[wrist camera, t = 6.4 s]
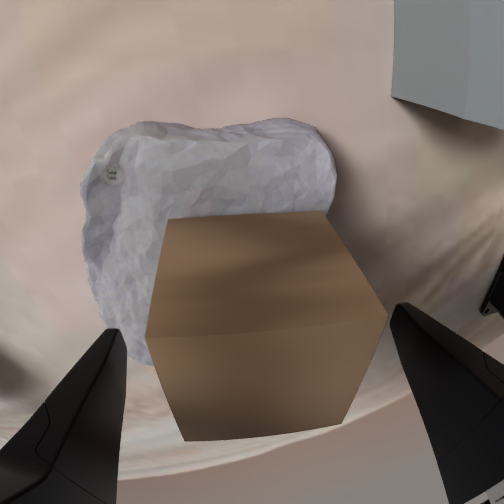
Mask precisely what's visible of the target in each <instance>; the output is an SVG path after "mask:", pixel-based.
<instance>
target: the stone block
mask: <svg viewBox="0 0 504 504" xmlns="http://www.w3.org/2000/svg"><path fill="white" fill-rule="evenodd" d="M336 182H337V173H336V167H335V162H334V158H333V156H332V153H331V151H330V150H329V148H328V147H327V145H326V144H325V142H324V141H323V139H322V137H321V135H320V134H319V132H318V130H317V128H316V127H314V126H311V125H308V124H305V123H302V122H298V121H295V120H292V119H290V118H276V119H267V120H264V121H257V122H254V123H252V124H238V125H231V126H225V127H223V128H222V129H194V128H191V127H189V126H186V125H183V124H178V123H158V122H152V121H143V122H138V123H136V124H134V125H131V126H130V127H128V128H125V129H122V130H119V131H117V132H115V133H114V134H112V135H111V136H110V137H108V138H107V139H106V140H105V141H104V143H103V144H102V146H101V147H100V149H99V150H98V152H97V153H96V156H95V157H94V158H93V159H92V161H91V163H90V165H89V168H88V170H87V172H86V173H85V174H84V176H83V178H82V181H81V189H80V193H81V196H82V199H83V203H84V206H85V209H86V221H85V223H84V226H83V229H82V242H83V245H82V250H83V255H84V260H85V262H86V267H87V277H88V282H89V284H90V287H91V291H92V294H93V296H94V298H95V300H96V301H97V303H98V304H99V305H100V316H101V317H102V319H103V321H104V323H105V326H106V328H107V329H108V328H118V329H120V331H121V333H122V336H123V338H124V341H125V343H126V346H127V356H128V357H130V358H132V359H134V360H136V361H138V362H140V363H142V364H145V365H151V366H154V364H153V361H152V358H151V355H150V353H149V350H148V347H147V344H146V341H145V333H146V327H147V321H148V315H149V309H150V303H151V298H152V293H153V287H154V282H155V277H156V272H157V267H158V262H159V257H160V253H161V248H162V243H163V239H164V234H165V230H166V226H167V221H168V219H176V218H191V217H206V216H223V215H241V214H261V213H283V212H309V211H322V212H323V214H324V215H325V216H326V215H327V213H328V211H329V208H330V207H331V205H332V203H333V200H334V194H335V188H336Z"/></svg>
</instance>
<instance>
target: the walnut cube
mask: <svg viewBox="0 0 504 504" xmlns="http://www.w3.org/2000/svg"><path fill="white" fill-rule="evenodd" d="M388 316H389V315H388V314H387V312H386V310H385V309H384V307H383V305H382V304H381V302H380V300H379V299H378V297H377V295H376V294H375V292H374V290H373V289H372V287H371V285H370V284H369V282H368V281H367V279H366V277H365V276H364V274H363V273H362V271H361V270H360V268H359V266H358V265H357V263H356V262H355V260H354V259H353V257H352V255H351V254H350V252H349V251H348V249H347V248H346V246H345V245H344V243H343V242H342V240H341V239H340V237H339V236H338V234H337V233H336V231H335V230H334V228H333V227H332V225H331V224H330V222H329V221H328V219H327V218H326V216H325V215H324V214H323V212H322V211H309V212H283V213H261V214H241V215H223V216H206V217H191V218H176V219H168V221H167V226H166V230H165V234H164V239H163V243H162V248H161V253H160V257H159V262H158V267H157V272H156V277H155V282H154V287H153V293H152V298H151V303H150V309H149V315H148V321H147V327H146V333H145V341H146V344H147V347H148V350H149V353H150V355H151V358H152V361H153V364H154V367H155V369H156V372H157V375H158V378H159V380H160V383H161V386H162V388H163V391H164V393H165V396H166V398H167V401H168V403H169V406H170V408H171V411H172V413H173V416H174V418H175V420H176V423H177V425H178V427H179V430H180V432H181V434H182V437H183V439H184V441H215V440H231V439H243V438H254V437H263V436H272V435H279V434H287V433H293V432H300V431H306V430H312V429H317V428H323V427H328V426H333V425H338V424H342V422H343V420H344V418H345V416H346V414H347V412H348V410H349V408H350V406H351V403H352V401H353V399H354V397H355V395H356V393H357V391H358V389H359V386H360V384H361V382H362V380H363V378H364V375H365V373H366V371H367V368H368V366H369V364H370V361H371V359H372V357H373V354H374V352H375V349H376V347H377V345H378V342H379V340H380V337H381V334H382V332H383V329H384V327H385V324H386V321H387V319H388Z"/></svg>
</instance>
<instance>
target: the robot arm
mask: <svg viewBox="0 0 504 504" xmlns="http://www.w3.org/2000/svg"><path fill="white" fill-rule="evenodd" d="M496 312H498V313H499V314H500V315H501V316H502V318H503V319H504V258H503V260H502V263H501V265H500V268H499V270H498V273H497V275H496V277H495V279H494V282H493V284H492V286H491V288H490V291H489V293H488V295H487V297H486V299H485V301H484V303H483V305H482V307H481V309H480V313H481V314H482V315H483V316H486V315H489V314H492V313H496ZM390 329H391V332H392V335H393V338H394V341H395V345H396V348H397V351H398V355H399V358H400V361H401V364H402V367H403V370H404V372H405V375H406V377H407V380H408V382H409V385H410V387H411V390H412V392H413V395H414V398H415V400H416V402H417V406H418V408H419V411H420V414H421V416H422V419H423V422H424V425H425V428H426V430H427V433H428V436H429V439H430V442H431V445H432V448H433V451H434V454H435V457H436V460H437V464H438V467H439V470H440V474H441V477H442V480H443V484H444V487H445V491H446V494H447V498H448V501H449V504H464V503H466V502H468V501H469V500H471V499H473V498H475V497H476V496H478V495H480V494H482V493H483V492H485V491H486V493H487V496H488V498H489V499H487V500H486V501H484V502H483V503H481V504H504V365H503V364H502V363H500V362H498V361H497V360H496V359H494V358H492V357H491V356H489V355H488V354H486V353H485V352H483V351H482V350H480V349H479V348H477V347H476V346H475V345H473V344H472V343H470V342H468V341H467V340H465V339H464V338H462V337H461V336H459V335H458V334H456V333H455V332H453V331H452V330H450V329H449V328H447V327H446V326H444V325H443V324H441V323H439V322H438V321H436V320H435V319H433V318H432V317H430V316H429V315H427V314H425V313H424V312H422V311H421V310H419V309H418V308H416V307H414V306H413V305H411V304H410V303H408V302H404V303H398V304H397V305H396V306H395V309H394V312H393V314H392V317H391V320H390ZM126 371H127V346H126V343H125V341H124V338H123V336H122V333H121V331H120V329H118V328H108V329H106V330H105V331H104V332H103V333H102V334H101V335H100V336H99V338H98V339H97V340H96V341H95V342H94V343H93V344H92V346H91V347H90V348H89V349H88V350H87V351H86V352H85V354H84V355H83V356H82V357H81V358H80V359H79V361H78V362H77V363H76V364H75V365H74V366H73V368H72V369H71V370H70V371H69V372H68V373H67V375H66V376H65V377H64V378H63V379H62V381H61V382H60V383H59V384H58V385H57V387H56V388H55V389H54V390H53V391H52V393H51V394H50V395H49V396H48V397H47V399H46V400H45V402H43V403H42V405H41V406H40V407H39V408H38V410H37V411H36V412H35V413H34V414H33V416H32V417H31V418H30V419H29V420H28V421H27V422H26V424H25V425H24V426H23V427H22V428H21V429H20V430H19V431H18V432H17V433H16V434H15V435H14V436H13V437H12V438H11V439H10V440H9V441H8V442H7V443H6V444H5V446H4V447H3V448H2V449H1V450H0V504H116V495H117V477H118V463H119V451H120V441H121V431H122V422H123V414H124V406H125V397H126Z"/></svg>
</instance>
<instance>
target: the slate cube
mask: <svg viewBox="0 0 504 504" xmlns="http://www.w3.org/2000/svg"><path fill="white" fill-rule="evenodd" d="M391 96H392V97H395V98H399V99H403V100H406V101H410V102H413V103H417V104H420V105H424V106H427V107H430V108H433V109H436V110H439V111H442V112H445V113H448V114H451V115H454V116H457V117H460V118H462V119H466V120H470V121H474V122H477V123H481V124H485V125H489V126H492V127H496V128H499V129H502V130H504V1H503V0H394V55H393V74H392V89H391Z"/></svg>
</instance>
